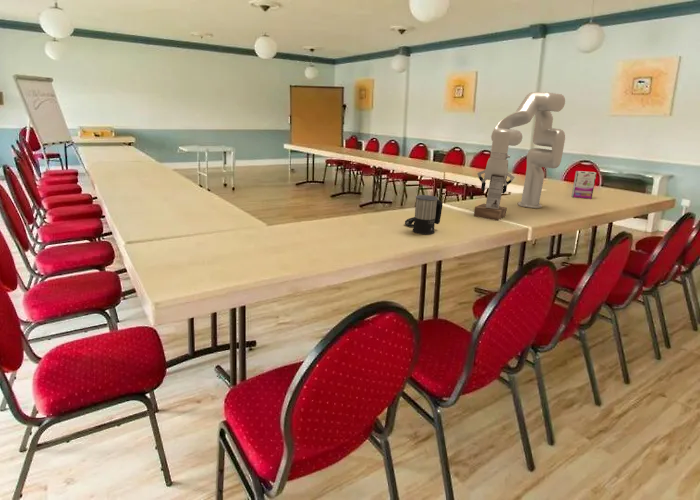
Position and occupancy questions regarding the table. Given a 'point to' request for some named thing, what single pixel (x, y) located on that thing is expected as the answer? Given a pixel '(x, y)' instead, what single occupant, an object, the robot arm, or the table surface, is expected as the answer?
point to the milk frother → (425, 214)
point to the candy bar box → (583, 184)
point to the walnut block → (490, 212)
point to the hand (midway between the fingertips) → (493, 192)
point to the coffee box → (495, 191)
